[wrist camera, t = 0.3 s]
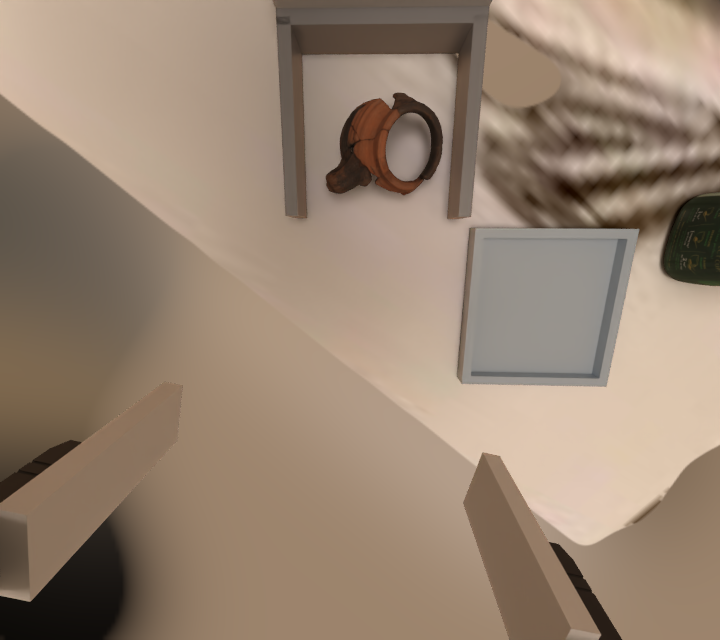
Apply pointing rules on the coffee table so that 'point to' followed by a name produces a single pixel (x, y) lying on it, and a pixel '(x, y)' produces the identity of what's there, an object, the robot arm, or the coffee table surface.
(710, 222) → the coffee jar
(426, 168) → the pottery mug
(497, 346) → the tray
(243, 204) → the coffee table surface
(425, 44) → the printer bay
